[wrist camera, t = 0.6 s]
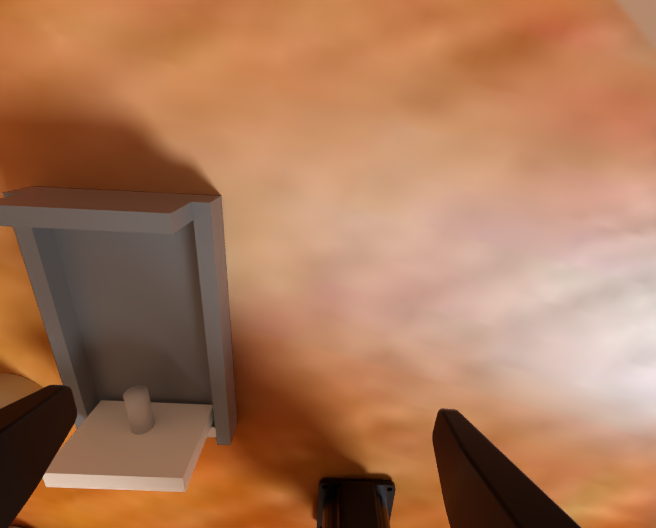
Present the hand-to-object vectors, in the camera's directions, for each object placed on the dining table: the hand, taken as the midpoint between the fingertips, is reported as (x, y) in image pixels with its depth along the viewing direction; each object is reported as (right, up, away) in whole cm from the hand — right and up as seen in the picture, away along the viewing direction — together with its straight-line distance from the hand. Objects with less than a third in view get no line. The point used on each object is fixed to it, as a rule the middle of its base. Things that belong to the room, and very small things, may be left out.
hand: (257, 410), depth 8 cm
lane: (-11, 0, +15) cm, 18 cm away
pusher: (-11, -6, +16) cm, 20 cm away
